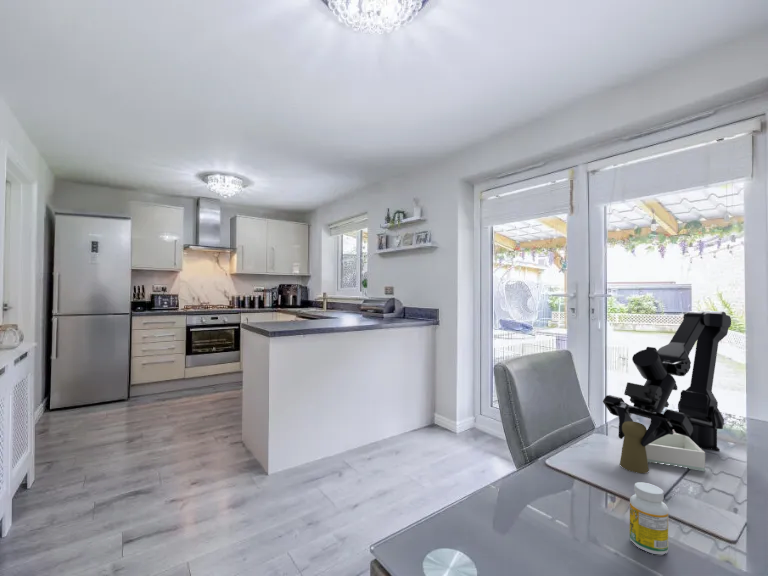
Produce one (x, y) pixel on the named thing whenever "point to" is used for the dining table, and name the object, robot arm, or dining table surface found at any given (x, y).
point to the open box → (676, 452)
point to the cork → (634, 448)
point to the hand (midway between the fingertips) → (630, 441)
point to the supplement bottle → (649, 518)
